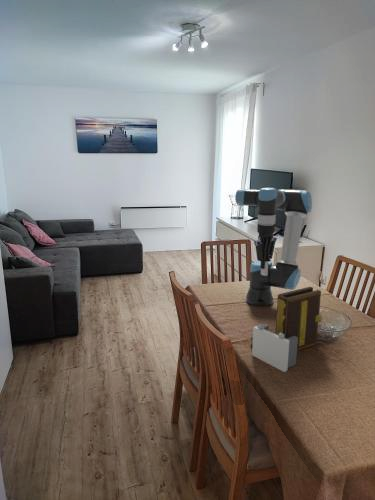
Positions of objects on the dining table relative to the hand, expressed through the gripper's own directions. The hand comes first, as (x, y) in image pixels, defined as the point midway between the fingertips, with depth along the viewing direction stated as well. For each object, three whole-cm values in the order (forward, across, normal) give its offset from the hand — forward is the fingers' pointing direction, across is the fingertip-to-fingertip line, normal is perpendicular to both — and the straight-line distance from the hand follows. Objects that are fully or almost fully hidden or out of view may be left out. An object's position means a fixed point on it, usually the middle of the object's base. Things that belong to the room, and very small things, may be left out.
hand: (264, 274), depth 166 cm
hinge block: (+28, +11, +6) cm, 31 cm away
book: (+29, -2, +19) cm, 34 cm away
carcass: (+28, +15, +19) cm, 37 cm away
